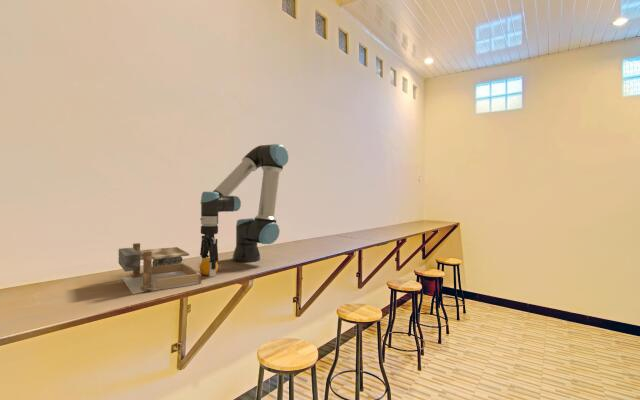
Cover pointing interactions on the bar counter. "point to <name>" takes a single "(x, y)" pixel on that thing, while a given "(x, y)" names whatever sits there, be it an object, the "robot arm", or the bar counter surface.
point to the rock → (167, 261)
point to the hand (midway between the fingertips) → (208, 273)
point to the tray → (166, 278)
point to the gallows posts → (144, 269)
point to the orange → (206, 266)
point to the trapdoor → (132, 257)
